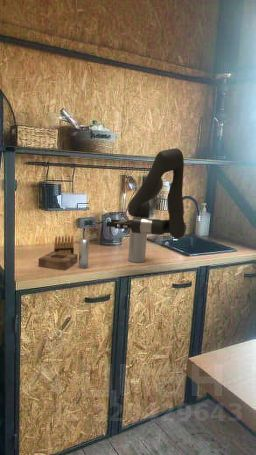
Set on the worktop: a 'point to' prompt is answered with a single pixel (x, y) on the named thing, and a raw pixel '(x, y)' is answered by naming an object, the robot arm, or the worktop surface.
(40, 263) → the walnut socket block
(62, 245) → the ammunition clip
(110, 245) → the worktop surface
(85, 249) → the steel pin
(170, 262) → the worktop surface
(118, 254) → the worktop surface
